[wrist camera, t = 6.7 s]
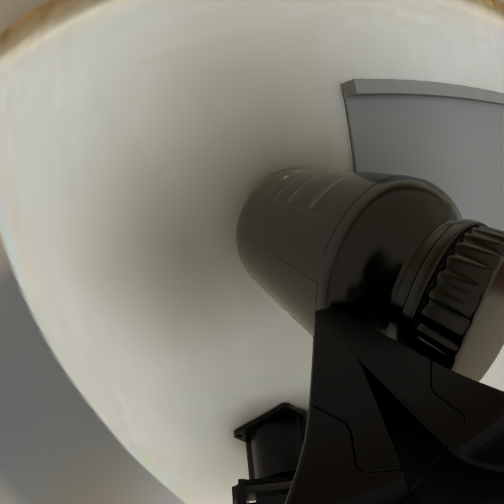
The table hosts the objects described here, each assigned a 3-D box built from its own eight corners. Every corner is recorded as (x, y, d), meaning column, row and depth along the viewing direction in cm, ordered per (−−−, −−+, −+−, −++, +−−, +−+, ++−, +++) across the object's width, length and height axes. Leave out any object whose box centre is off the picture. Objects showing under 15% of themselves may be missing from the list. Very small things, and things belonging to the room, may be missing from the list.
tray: (361, 317, 20) (370, 331, 18) (341, 84, 14) (354, 79, 12) (511, 262, 20) (523, 270, 18) (516, 99, 14) (530, 100, 13)
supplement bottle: (350, 258, 18) (515, 346, 7) (254, 306, 17) (398, 470, 6) (328, 152, 16) (543, 171, 5) (214, 191, 14) (428, 281, 3)
